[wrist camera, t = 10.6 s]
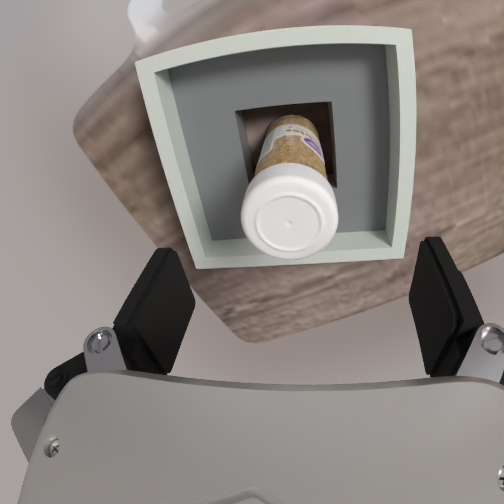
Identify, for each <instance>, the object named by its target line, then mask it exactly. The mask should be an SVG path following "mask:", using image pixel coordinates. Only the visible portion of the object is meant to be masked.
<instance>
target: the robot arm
mask: <svg viewBox="0 0 504 504" xmlns="http://www.w3.org/2000/svg"><path fill="white" fill-rule="evenodd" d="M409 303H410V307H411V311H412V315H413V318H414V322H415V326H416V330H417V334H418V338H419V343H420V348H421V352H422V357H423V362H424V367H425V371H426V374H427V375H429V374H430V377H431V378H423V379H414V380H401V381H389V382H375V383H359V384H332V385H284V384H283V385H282V384H257V383H240V382H226V381H213V380H203V379H193V378H185V377H177V376H168V375H167V373H170V372H171V370H172V368H173V365H174V362H175V359H176V356H177V354H178V351H179V348H180V345H181V342H182V340H183V337H184V334H185V332H186V329H187V326H188V324H189V321H190V318H191V316H192V313H193V310H194V308H195V298H194V295H193V293H192V290H191V288H190V285H189V283H188V280H187V278H186V275H185V272H184V270H183V267H182V264H181V262H180V259H179V256H178V254H177V252H176V251H173V249H172V248H158V249H156V251H155V252H154V254H153V255H152V257H151V258H150V260H149V262H148V263H147V265H146V267H145V268H144V270H143V272H142V273H141V275H140V277H139V278H138V280H137V282H136V284H135V285H134V287H133V288H132V290H131V292H130V294H129V295H128V297H127V299H126V300H125V302H124V304H123V306H122V308H121V310H120V311H119V313H118V315H117V316H116V318H115V321H114V322H113V323H114V327H113V328H112V329H111V328H109V327H101V328H98V329H96V330H94V331H93V332H91V333H90V334H89V335H88V337H87V338H86V340H85V342H84V346H83V347H84V352H82V353H80V354H79V355H77V356H75V357H74V358H72V359H70V360H68V361H66V362H65V363H63V364H61V365H59V366H58V367H56V368H54V369H53V370H51V371H50V373H49V374H48V375H47V377H46V379H45V383H44V389H42V388H41V387H40V388H39V390H37V391H36V392H35V393H34V394H33V395H32V396H31V397H30V398H29V399H28V400H27V401H26V402H25V403H24V404H23V405H22V406H21V407H20V408H19V409H17V410H16V412H15V413H14V414H13V417H12V421H11V425H12V429H13V431H14V433H15V436H16V438H17V440H18V442H19V444H20V446H21V448H22V450H23V452H24V454H25V456H26V458H27V460H28V462H29V465H28V468H27V472H26V475H25V478H24V481H23V485H22V489H21V493H20V496H19V500H18V504H504V328H502V327H501V326H499V325H496V324H494V323H487V324H484V322H483V320H482V317H481V314H480V312H479V310H478V307H477V305H476V303H475V300H474V298H473V296H472V294H471V291H470V289H469V287H468V285H467V283H466V281H465V279H464V276H463V274H462V273H461V272H460V271H459V270H458V269H457V267H456V265H455V263H454V261H453V259H452V257H451V256H450V254H449V252H448V250H447V248H446V246H445V244H444V242H443V241H442V239H441V237H426V238H425V240H424V241H421V242H420V246H419V251H418V256H417V261H416V266H415V271H414V275H413V280H412V284H411V288H410V292H409Z"/></svg>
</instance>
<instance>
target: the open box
mask: <svg viewBox="0 0 504 504" xmlns="http://www.w3.org/2000/svg"><path fill="white" fill-rule="evenodd" d="M135 65H136V69H137V74H138V78H139V82H140V86H141V90H142V94H143V97H144V101H145V105H146V109H147V113H148V116H149V120H150V124H151V127H152V131H153V134H154V138H155V141H156V145H157V148H158V152H159V155H160V159H161V162H162V165H163V169H164V172H165V175H166V179H167V182H168V185H169V188H170V191H171V195H172V198H173V201H174V204H175V207H176V210H177V213H178V216H179V219H180V222H181V225H182V228H183V231H184V234H185V237H186V240H187V243H188V246H189V249H190V252H191V255H192V258H193V261H194V263H195V266H196V269H209V268H232V267H254V266H274V265H294V264H313V263H331V262H349V261H366V260H382V259H398V258H403V257H404V251H405V245H406V239H407V232H408V225H409V218H410V210H411V201H412V191H413V180H414V166H415V148H416V81H415V63H414V51H413V40H412V31H411V29H404V28H393V27H379V26H348V25H342V26H310V27H296V28H284V29H275V30H267V31H259V32H252V33H246V34H240V35H234V36H229V37H224V38H219V39H214V40H210V41H205V42H201V43H197V44H193V45H189V46H185V47H181V48H178V49H174V50H170V51H167V52H164V53H160V54H157V55H154V56H151V57H148V58H145V59H142V60H139V61H136V62H135ZM312 102H328V109H329V120H330V132H331V146H332V162H333V173H329V174H326V175H327V180H328V182H329V184H330V185H331V187H332V189H333V192H334V195H335V199H336V203H337V209H338V226H337V230H336V232H335V235H334V237H333V238H332V240H331V241H330V243H329V244H328V245H327V246H326V247H325V248H324V249H322V250H321V251H320V252H318V253H316V254H314V255H312V256H310V257H307V258H303V259H298V260H284V259H278V258H274V257H271V256H269V255H267V254H265V253H263V252H261V251H260V250H258V249H257V248H256V247H255V246H254V245H253V244H252V243H251V242H250V241H249V240H248V238H247V237H246V235H245V233H244V231H243V228H242V224H241V208H242V204H243V200H244V197H245V193H246V190H247V188H248V186H249V184H250V182H251V181H252V179H253V178H254V173H253V167H252V161H251V156H250V150H249V145H248V139H247V134H246V128H245V123H244V118H243V112H242V110H244V109H252V108H259V107H268V106H277V105H287V104H298V103H312Z"/></svg>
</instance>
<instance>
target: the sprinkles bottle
mask: <svg viewBox="0 0 504 504" xmlns="http://www.w3.org/2000/svg"><path fill="white" fill-rule="evenodd" d="M241 224H242V228H243V231H244V233H245V235H246V237H247V238H248V240H249V241H250V242H251V243H252V244H253V245H254V246H255V247H256V248H257V249H258V250H260V251H261V252H263V253H265V254H267V255H269V256H271V257H274V258H278V259H284V260H298V259H303V258H307V257H310V256H312V255H314V254H316V253H318V252H320V251H321V250H322V249H324V248H325V247H326V246H327V245H328V244H329V243H330V241H331V240H332V238H333V237H334V235H335V232H336V230H337V226H338V209H337V203H336V199H335V195H334V192H333V189H332V187H331V185H330V184H329V182H328V180H327V175H326V171H325V163H324V158H323V153H322V149H321V145H320V138H319V134H318V131H317V129H316V128H315V126H314V124H313V123H312V122H310V121H309V120H308V119H306V118H304V117H302V116H298V115H291V114H290V115H285V116H282V117H280V118H277V119H276V120H275V121H273V122H272V123H271V124H270V126H269V128H268V130H267V132H266V136H265V141H264V144H263V147H262V150H261V154H260V157H259V160H258V163H257V167H256V170H255V176H254V178H253V179H252V181H251V182H250V184H249V186H248V188H247V190H246V193H245V197H244V200H243V204H242V208H241Z"/></svg>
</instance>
